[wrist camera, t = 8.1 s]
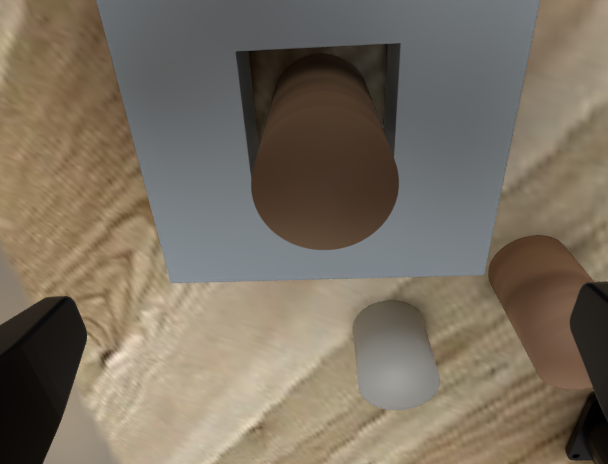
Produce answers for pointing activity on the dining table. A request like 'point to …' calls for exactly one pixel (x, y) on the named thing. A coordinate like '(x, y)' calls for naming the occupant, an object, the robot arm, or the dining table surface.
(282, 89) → the long dowel
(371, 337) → the short dowel
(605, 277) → the dining table surface
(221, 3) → the grey square frame
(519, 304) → the medium dowel
